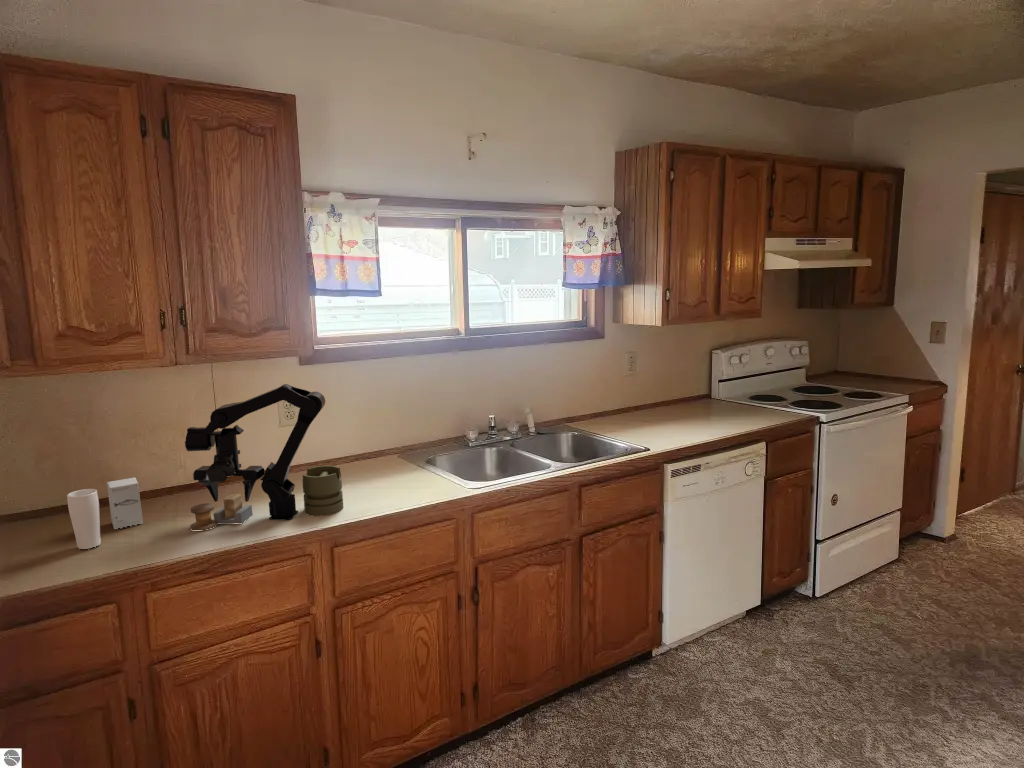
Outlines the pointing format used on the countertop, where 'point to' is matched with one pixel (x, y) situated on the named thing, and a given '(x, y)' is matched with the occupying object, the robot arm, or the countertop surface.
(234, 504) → the wooden block
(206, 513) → the spool
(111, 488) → the supplement box
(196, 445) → the robot arm
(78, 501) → the drinking glass
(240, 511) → the grey u-shaped channel block
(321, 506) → the grooved olive planter pot
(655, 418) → the countertop surface
